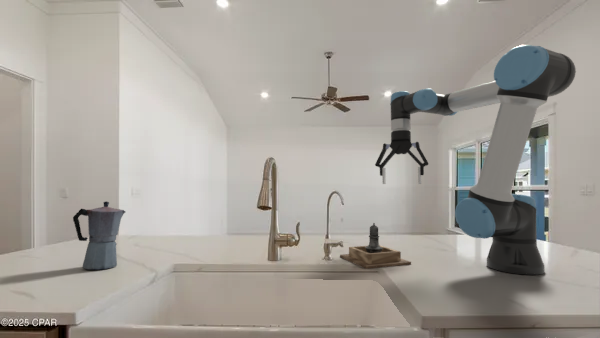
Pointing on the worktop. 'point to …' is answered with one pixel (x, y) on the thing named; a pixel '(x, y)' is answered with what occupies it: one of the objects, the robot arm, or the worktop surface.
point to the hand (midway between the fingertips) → (401, 184)
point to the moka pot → (100, 236)
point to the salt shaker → (373, 241)
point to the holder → (374, 257)
